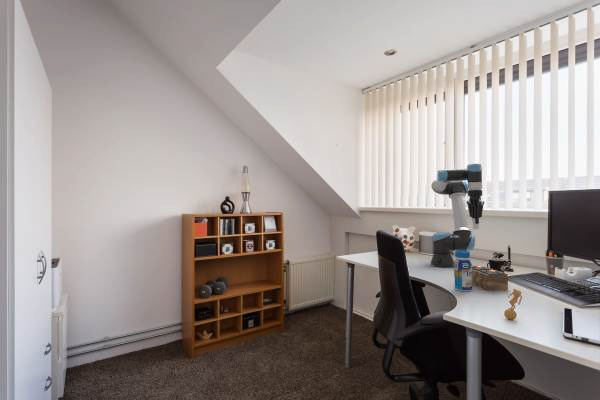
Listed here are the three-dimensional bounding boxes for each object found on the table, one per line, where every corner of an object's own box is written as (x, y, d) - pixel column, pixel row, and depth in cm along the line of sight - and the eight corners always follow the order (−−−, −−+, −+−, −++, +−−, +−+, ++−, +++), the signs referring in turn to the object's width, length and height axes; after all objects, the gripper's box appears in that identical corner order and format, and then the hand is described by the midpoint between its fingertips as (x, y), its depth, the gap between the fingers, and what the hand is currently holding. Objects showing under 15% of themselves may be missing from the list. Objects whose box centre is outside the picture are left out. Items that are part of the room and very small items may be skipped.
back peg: (473, 280, 171) (473, 266, 171) (480, 279, 172) (479, 265, 172) (478, 282, 167) (477, 267, 167) (485, 281, 168) (484, 267, 168)
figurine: (499, 315, 123) (498, 285, 123) (516, 315, 122) (515, 285, 122) (510, 323, 115) (509, 291, 115) (528, 324, 114) (526, 292, 114)
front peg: (486, 285, 161) (485, 269, 161) (493, 284, 162) (492, 269, 162) (491, 287, 157) (491, 271, 157) (498, 286, 158) (498, 271, 158)
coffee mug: (500, 274, 187) (500, 257, 187) (509, 277, 178) (508, 260, 178) (480, 274, 188) (480, 258, 188) (488, 277, 179) (487, 260, 179)
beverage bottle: (455, 286, 164) (454, 249, 164) (473, 288, 159) (472, 250, 159) (453, 290, 157) (451, 251, 157) (471, 292, 152) (470, 253, 152)
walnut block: (465, 281, 173) (465, 266, 173) (483, 280, 174) (483, 265, 174) (488, 290, 155) (487, 274, 155) (508, 289, 156) (507, 272, 156)
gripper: (462, 190, 187) (463, 228, 187) (476, 189, 174) (477, 230, 174) (473, 189, 187) (474, 227, 188) (488, 189, 174) (489, 230, 175)
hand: (475, 229), depth 181 cm, fingers closed
